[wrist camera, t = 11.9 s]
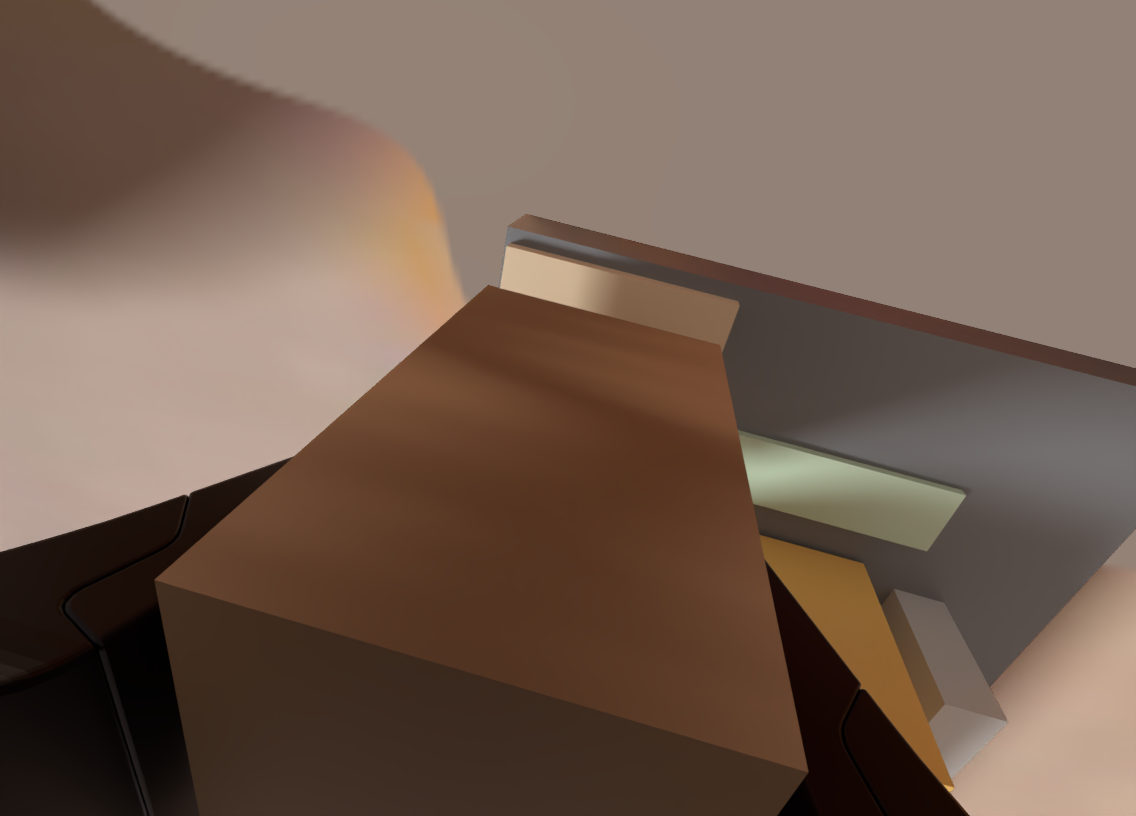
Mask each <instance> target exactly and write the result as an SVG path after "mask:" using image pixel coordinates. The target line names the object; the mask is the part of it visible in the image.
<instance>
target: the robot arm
mask: <svg viewBox="0 0 1136 816" xmlns="http://www.w3.org/2000/svg"><path fill="white" fill-rule="evenodd" d="M292 458H293V457H291V458H288V459H285V460H282V461H279V462H277V463H274V464H271V465H268V466H265V467H262V468H259V469H257V470H254V471H251V472H248V473H245V474H242V475H239V476H237V477H234V478H231V479H228V480H225V481H222V482H219V483H217V484H214V485H211V486H208V487H205V488H202V489H199V490H196V491H194V492H192V493H190V495H189V497H188V496H187V495H182V496H179V497H176V498H173V499H170V500H168V501H165V502H162V503H159V504H156V505H153V506H150V507H147V508H144V509H141V510H138V511H135V512H132V513H129V514H126V515H123V516H120V517H117V518H114V519H111V520H108V521H105V522H102V523H99V524H95V525H92V526H89V527H85V528H82V529H78V530H75V531H72V532H68V533H65V534H62V535H58V536H55V537H52V538H48V539H45V540H41V541H38V542H34V543H31V544H27V545H24V546H20V547H17V548H13V549H9V550H6V551H2V552H0V816H199V811H198V806H197V800H196V795H195V790H194V785H193V780H192V774H191V769H190V764H189V759H188V753H187V748H186V743H185V738H184V733H183V727H182V722H181V717H180V712H179V707H178V701H177V696H176V691H175V686H174V680H173V675H172V670H171V665H170V660H169V654H168V649H167V644H166V639H165V634H164V628H163V623H162V618H161V613H160V607H159V602H158V597H157V592H156V587H155V581H154V580H155V579H156V578H157V577H158V576H159V575H161V574H162V573H163V572H164V571H165V570H166V569H167V568H168V567H170V566H171V565H172V564H173V563H174V562H175V561H176V560H177V559H179V558H180V557H181V556H182V555H183V554H184V553H185V552H187V551H188V550H189V549H190V548H191V547H192V546H193V545H194V544H196V543H197V542H198V541H199V540H200V539H201V538H202V537H204V536H205V535H206V534H207V533H208V532H209V531H210V530H211V529H213V528H214V527H215V526H216V525H217V524H218V523H219V522H221V521H222V520H223V519H224V518H225V517H226V516H227V515H228V514H230V513H231V512H232V511H233V510H234V509H235V508H236V507H238V506H239V505H240V504H241V503H242V502H243V501H244V500H245V499H247V498H248V497H249V496H250V495H251V494H252V493H253V492H255V491H256V490H257V489H258V488H259V487H260V486H261V485H262V484H264V483H265V482H266V481H267V480H268V479H269V478H270V477H271V476H273V475H274V474H275V473H276V472H277V471H278V470H279V469H281V468H282V467H283V466H284V465H285V464H286V463H287V462H288V461H290V460H291V459H292ZM765 564H766V569H767V574H768V578H769V583H770V588H771V593H772V598H773V603H774V608H775V612H776V617H777V622H778V627H779V632H780V637H781V641H782V646H783V651H784V656H785V661H786V666H787V670H788V675H789V680H790V685H791V690H792V695H793V699H794V704H795V709H796V714H797V719H798V724H799V728H800V733H801V738H802V743H803V748H804V753H805V757H806V762H807V767H808V774H807V775H806V777H805V778H804V779H803V781H802V782H801V783H800V785H799V786H798V788H797V789H796V790H795V792H794V793H793V794H792V796H791V797H790V799H789V800H788V801H787V803H786V804H785V805H784V807H783V808H782V810H781V811H780V812H779V814H778V815H777V816H970V815H969V814H968V813H967V812H966V811H965V810H964V809H963V807H962V806H961V805H960V804H959V803H958V802H957V800H956V799H955V798H954V797H953V796H952V795H951V793H950V792H949V791H948V790H947V789H946V788H945V786H944V785H943V784H942V783H941V782H940V781H939V780H938V778H937V777H936V776H935V775H934V774H933V773H932V771H931V770H930V769H929V768H928V767H927V766H926V764H925V763H924V762H923V761H922V760H921V759H920V757H919V756H918V755H917V754H916V752H915V751H914V750H913V749H912V747H911V746H910V745H909V744H908V742H907V741H906V740H905V739H904V737H903V736H902V735H901V734H900V732H899V731H898V730H897V729H896V727H895V726H894V725H893V724H892V722H891V721H890V720H889V719H888V717H887V716H886V715H885V714H884V712H883V711H882V710H881V708H880V707H879V706H878V705H877V703H876V702H875V701H874V699H873V698H872V697H871V696H870V694H869V693H868V692H867V690H865V689H860V688H861V683H860V682H859V680H858V679H857V678H856V676H855V675H854V674H853V673H852V671H851V670H850V669H849V667H848V666H847V665H846V664H845V662H844V661H843V660H842V658H841V657H840V656H839V654H838V653H837V652H836V651H835V649H834V648H833V647H832V645H831V644H830V643H829V642H828V640H827V639H826V638H825V636H824V635H823V634H822V632H821V631H820V630H819V629H818V627H817V626H816V625H815V623H814V622H813V621H812V620H811V618H810V617H809V616H808V614H807V613H806V612H805V610H804V609H803V608H802V607H801V605H800V604H799V603H798V601H797V600H796V599H795V598H794V596H793V595H792V594H791V592H790V591H789V590H788V589H787V587H786V586H785V585H784V583H783V582H782V581H781V579H780V578H779V577H778V576H777V574H776V573H775V572H774V570H773V569H772V568H771V567H770V565H769V564H768V563H767V561H766V560H765Z"/></svg>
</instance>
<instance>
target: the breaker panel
mask: <svg viewBox="0 0 1136 816" xmlns="http://www.w3.org/2000/svg"><path fill="white" fill-rule="evenodd" d="M499 288H501V289H505V290H509V291H513V292H517V293H521V294H525V295H528V296H532V297H536V298H540V299H544V300H548V301H552V302H556V303H559V304H563V305H567V306H571V307H575V308H579V309H583V310H587V311H590V312H594V313H598V314H602V315H606V316H610V317H614V318H618V319H621V320H625V321H629V322H633V323H637V324H641V325H645V326H649V327H652V328H656V329H660V330H664V331H668V332H672V333H676V334H680V335H683V336H687V337H691V338H695V339H699V340H703V341H707V342H711V343H714V344H718V345H720V346H721V351H722V356H723V361H724V366H725V371H726V375H727V380H728V385H729V390H730V395H731V400H732V404H733V409H734V414H735V419H736V424H737V429H738V433H739V438H740V443H741V448H742V453H743V458H744V462H745V467H746V472H747V477H748V482H749V487H750V491H751V496H752V501H753V506H754V511H755V516H756V520H757V525H758V530H759V535H762V536H766V537H770V538H773V539H777V540H781V541H784V542H788V543H791V544H795V545H799V546H802V547H806V548H809V549H813V550H817V551H820V552H824V553H827V554H831V555H835V556H838V557H842V558H845V559H849V560H853V561H856V562H860V563H863V564H864V566H865V568H866V571H867V573H868V576H869V578H870V580H871V583H872V585H873V588H874V590H875V593H876V595H877V598H878V600H879V603H880V605H881V608H882V610H883V613H884V615H885V617H886V620H887V622H888V625H889V627H890V630H891V632H892V635H893V637H894V640H895V642H896V645H897V647H898V649H899V652H900V654H901V657H902V659H903V662H904V664H905V667H906V669H907V672H908V674H909V677H910V679H911V682H912V684H913V686H914V689H915V691H916V694H917V696H918V699H919V701H920V704H921V706H922V709H923V711H924V714H925V716H926V718H927V721H928V723H929V726H930V728H931V731H932V733H933V736H934V738H935V741H936V743H937V746H938V748H939V751H940V753H941V755H942V758H943V760H944V763H945V765H946V768H947V770H948V773H949V775H950V778H951V779H952V778H953V777H954V776H955V775H956V774H957V773H958V772H959V771H960V770H961V769H962V768H963V767H964V766H965V765H966V764H967V763H968V762H969V761H970V760H971V759H972V758H973V757H974V756H975V755H976V754H977V753H978V752H979V751H980V750H981V749H982V748H983V747H984V746H985V745H986V744H987V743H988V742H989V741H990V740H991V739H992V738H993V737H994V736H995V735H996V734H997V733H998V732H999V731H1000V730H1001V729H1002V728H1003V727H1004V726H1005V725H1006V724H1007V723H1008V721H1007V719H1006V717H1005V715H1004V713H1003V711H1002V710H1001V708H1000V706H999V704H998V702H997V700H996V698H995V697H994V695H993V693H992V691H991V689H990V686H991V685H992V684H993V683H994V682H995V681H996V679H997V678H998V677H999V676H1000V675H1001V674H1002V673H1003V672H1004V671H1005V670H1006V669H1007V668H1008V666H1009V665H1010V664H1011V663H1012V662H1013V661H1014V660H1015V659H1016V658H1017V657H1018V656H1019V655H1020V654H1021V652H1022V651H1023V650H1024V649H1025V648H1026V647H1027V646H1028V645H1029V644H1030V643H1031V642H1032V641H1033V639H1034V638H1035V637H1036V636H1037V635H1038V634H1039V633H1040V632H1041V631H1042V630H1043V629H1044V628H1045V626H1046V625H1047V624H1048V623H1049V622H1050V621H1051V620H1052V619H1053V618H1054V617H1055V616H1056V615H1057V613H1058V612H1059V611H1060V610H1061V609H1062V608H1063V607H1064V606H1065V605H1066V604H1067V603H1068V602H1069V600H1070V599H1071V598H1072V597H1073V596H1074V595H1075V594H1076V593H1077V592H1078V591H1079V590H1080V589H1081V587H1082V586H1083V585H1084V584H1085V583H1086V582H1087V581H1088V580H1089V579H1090V578H1091V577H1092V576H1093V574H1094V573H1095V572H1096V571H1097V570H1098V569H1099V568H1100V567H1101V566H1102V565H1103V564H1104V563H1105V561H1106V560H1107V559H1108V558H1109V557H1110V556H1111V555H1112V554H1113V553H1114V552H1115V551H1116V550H1117V549H1118V547H1119V546H1120V545H1121V544H1122V543H1123V542H1124V541H1125V540H1126V539H1127V538H1128V536H1129V535H1130V534H1131V533H1132V532H1133V531H1134V530H1135V529H1136V368H1132V367H1128V366H1124V365H1120V364H1116V363H1112V362H1108V361H1105V360H1101V359H1097V358H1092V357H1089V356H1085V355H1081V354H1077V353H1073V352H1068V351H1065V350H1061V349H1057V348H1053V347H1049V346H1045V345H1041V344H1037V343H1033V342H1029V341H1025V340H1021V339H1018V338H1013V337H1010V336H1006V335H1002V334H998V333H994V332H990V331H986V330H982V329H978V328H974V327H970V326H966V325H962V324H958V323H954V322H950V321H947V320H942V319H939V318H935V317H931V316H927V315H923V314H918V313H915V312H911V311H907V310H903V309H899V308H895V307H891V306H887V305H883V304H879V303H876V302H872V301H868V300H864V299H860V298H856V297H852V296H848V295H844V294H840V293H836V292H832V291H828V290H824V289H820V288H816V287H812V286H808V285H804V284H800V283H797V282H793V281H789V280H785V279H780V278H776V277H773V276H769V275H765V274H761V273H757V272H753V271H749V270H745V269H741V268H737V267H733V266H729V265H725V264H721V263H717V262H714V261H710V260H706V259H702V258H697V257H694V256H690V255H686V254H682V253H678V252H674V251H670V250H666V249H662V248H658V247H654V246H650V245H647V244H642V243H639V242H635V241H631V240H627V239H623V238H618V237H615V236H611V235H607V234H603V233H599V232H595V231H591V230H587V229H583V228H579V227H575V226H571V225H568V224H564V223H560V222H556V221H552V220H548V219H543V218H540V217H536V216H532V215H528V214H525V215H524V216H522V217H521V218H519V219H518V220H516V221H515V222H514V223H512V224H511V225H509V226H508V229H507V236H506V243H505V249H504V256H503V262H502V269H501V276H500V282H499Z"/></svg>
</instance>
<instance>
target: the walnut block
mask: <svg viewBox="0 0 1136 816" xmlns="http://www.w3.org/2000/svg"><path fill="white" fill-rule="evenodd" d="M154 581H155V587H156V592H157V597H158V602H159V607H160V613H161V618H162V623H163V628H164V634H165V639H166V644H167V649H168V654H169V660H170V665H171V670H172V675H173V680H174V686H175V691H176V696H177V701H178V707H179V712H180V717H181V722H182V727H183V733H184V738H185V743H186V748H187V753H188V759H189V764H190V769H191V774H192V780H193V785H194V790H195V795H196V800H197V806H198V811H199V816H777V815H778V814H779V812H780V811H781V810H782V808H783V807H784V805H785V804H786V803H787V801H788V800H789V799H790V797H791V796H792V794H793V793H794V792H795V790H796V789H797V788H798V786H799V785H800V783H801V782H802V781H803V779H804V778H805V777H806V775H807V774H808V767H807V762H806V757H805V753H804V748H803V743H802V738H801V733H800V728H799V724H798V719H797V714H796V709H795V704H794V699H793V695H792V690H791V685H790V680H789V675H788V670H787V666H786V661H785V656H784V651H783V646H782V641H781V637H780V632H779V627H778V622H777V617H776V612H775V608H774V603H773V598H772V593H771V588H770V583H769V578H768V574H767V569H766V564H765V559H764V554H763V549H762V545H761V540H760V535H759V530H758V525H757V520H756V516H755V511H754V506H753V501H752V496H751V491H750V487H749V482H748V477H747V472H746V467H745V462H744V458H743V453H742V448H741V443H740V438H739V433H738V429H737V424H736V419H735V414H734V409H733V404H732V400H731V395H730V390H729V385H728V380H727V375H726V371H725V366H724V361H723V356H722V351H721V346H720V345H718V344H714V343H711V342H707V341H703V340H699V339H695V338H691V337H687V336H683V335H680V334H676V333H672V332H668V331H664V330H660V329H656V328H652V327H649V326H645V325H641V324H637V323H633V322H629V321H625V320H621V319H618V318H614V317H610V316H606V315H602V314H598V313H594V312H590V311H587V310H583V309H579V308H575V307H571V306H567V305H563V304H559V303H556V302H552V301H548V300H544V299H540V298H536V297H532V296H528V295H525V294H521V293H517V292H513V291H509V290H505V289H501V288H497V287H493V286H490V285H488V286H487V287H486V288H484V289H483V290H482V291H481V292H480V293H479V294H478V295H477V296H475V297H474V298H473V299H472V300H471V301H470V302H469V303H467V304H466V305H465V306H464V307H463V308H462V309H461V310H459V311H458V312H457V313H456V314H455V315H454V316H453V317H452V318H450V319H449V320H448V321H447V322H446V323H445V324H444V325H442V326H441V327H440V328H439V329H438V330H437V331H436V332H435V333H433V334H432V335H431V336H430V337H429V338H428V339H427V340H425V341H424V342H423V343H422V344H421V345H420V346H419V347H418V348H416V349H415V350H414V351H413V352H412V353H411V354H410V355H409V356H407V357H406V358H405V359H404V360H403V361H402V362H401V363H399V364H398V365H397V366H396V367H395V368H394V369H393V370H392V371H390V372H389V373H388V374H387V375H386V376H385V377H384V378H382V379H381V380H380V381H379V382H378V383H377V384H376V385H375V386H373V387H372V388H371V389H370V390H369V391H368V392H367V393H365V394H364V395H363V396H362V397H361V398H360V399H359V400H358V401H356V402H355V403H354V404H353V405H352V406H351V407H350V408H348V409H347V410H346V411H345V412H344V413H343V414H342V415H341V416H339V417H338V418H337V419H336V420H335V421H334V422H333V423H332V424H330V425H329V426H328V427H327V428H326V429H325V430H324V431H322V432H321V433H320V434H319V435H318V436H317V437H316V438H315V439H313V440H312V441H311V442H310V443H309V444H308V445H307V446H305V447H304V448H303V449H302V450H301V451H300V452H299V453H298V454H296V455H295V456H294V457H293V458H292V459H291V460H290V461H288V462H287V463H286V464H285V465H284V466H283V467H282V468H281V469H279V470H278V471H277V472H276V473H275V474H274V475H273V476H271V477H270V478H269V479H268V480H267V481H266V482H265V483H264V484H262V485H261V486H260V487H259V488H258V489H257V490H256V491H255V492H253V493H252V494H251V495H250V496H249V497H248V498H247V499H245V500H244V501H243V502H242V503H241V504H240V505H239V506H238V507H236V508H235V509H234V510H233V511H232V512H231V513H230V514H228V515H227V516H226V517H225V518H224V519H223V520H222V521H221V522H219V523H218V524H217V525H216V526H215V527H214V528H213V529H211V530H210V531H209V532H208V533H207V534H206V535H205V536H204V537H202V538H201V539H200V540H199V541H198V542H197V543H196V544H194V545H193V546H192V547H191V548H190V549H189V550H188V551H187V552H185V553H184V554H183V555H182V556H181V557H180V558H179V559H177V560H176V561H175V562H174V563H173V564H172V565H171V566H170V567H168V568H167V569H166V570H165V571H164V572H163V573H162V574H161V575H159V576H158V577H157V578H156V579H155V580H154Z"/></svg>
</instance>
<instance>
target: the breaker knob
mask: <svg viewBox="0 0 1136 816" xmlns="http://www.w3.org/2000/svg"><path fill="white" fill-rule="evenodd" d="M760 540H761V545H762V549H763V554H764V559H765V560H766V561H767V563H768V564H769V565H770V567H771V568H772V569H773V570H774V572H775V573H776V574H777V576H778V577H779V578H780V579H781V581H782V582H783V583H784V585H785V586H786V587H787V589H788V590H789V591H790V592H791V594H792V595H793V596H794V598H795V599H796V600H797V601H798V603H799V604H800V605H801V607H802V608H803V609H804V610H805V612H806V613H807V614H808V616H809V617H810V618H811V620H812V621H813V622H814V623H815V625H816V626H817V627H818V629H819V630H820V631H821V632H822V634H823V635H824V636H825V638H826V639H827V640H828V642H829V643H830V644H831V645H832V647H833V648H834V649H835V651H836V652H837V653H838V654H839V656H840V657H841V658H842V660H843V661H844V662H845V664H846V665H847V666H848V667H849V669H850V670H851V671H852V673H853V674H854V675H855V676H856V678H857V679H858V680H859V682H860V683H861V688H860V689H865V690H867V692H868V693H869V694H870V696H871V697H872V698H873V699H874V701H875V702H876V703H877V705H878V706H879V707H880V708H881V710H882V711H883V712H884V714H885V715H886V716H887V717H888V719H889V720H890V721H891V722H892V724H893V725H894V726H895V727H896V729H897V730H898V731H899V732H900V734H901V735H902V736H903V737H904V739H905V740H906V741H907V742H908V744H909V745H910V746H911V747H912V749H913V750H914V751H915V752H916V754H917V755H918V756H919V757H920V759H921V760H922V761H923V762H924V763H925V764H926V766H927V767H928V768H929V769H930V770H931V771H932V773H933V774H934V775H935V776H936V777H937V778H938V780H939V781H940V782H941V783H942V784H943V785H944V786H945V788H946V789H947V790H948V791H949V792H951V791H952V790H953V789H954V788H955V787H954V785H953V783H952V780H951V778H950V775H949V773H948V770H947V768H946V765H945V763H944V760H943V758H942V755H941V753H940V751H939V748H938V746H937V743H936V741H935V738H934V736H933V733H932V731H931V728H930V726H929V723H928V721H927V718H926V716H925V714H924V711H923V709H922V706H921V704H920V701H919V699H918V696H917V694H916V691H915V689H914V686H913V684H912V682H911V679H910V677H909V674H908V672H907V669H906V667H905V664H904V662H903V659H902V657H901V654H900V652H899V649H898V647H897V645H896V642H895V640H894V637H893V635H892V632H891V630H890V627H889V625H888V622H887V620H886V617H885V615H884V613H883V610H882V608H881V605H880V603H879V600H878V598H877V595H876V593H875V590H874V588H873V585H872V583H871V580H870V578H869V576H868V573H867V571H866V568H865V566H864V564H863V563H860V562H856V561H853V560H849V559H845V558H842V557H838V556H835V555H831V554H827V553H824V552H820V551H817V550H813V549H809V548H806V547H802V546H799V545H795V544H791V543H788V542H784V541H781V540H777V539H773V538H770V537H766V536H762V535H760Z"/></svg>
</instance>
